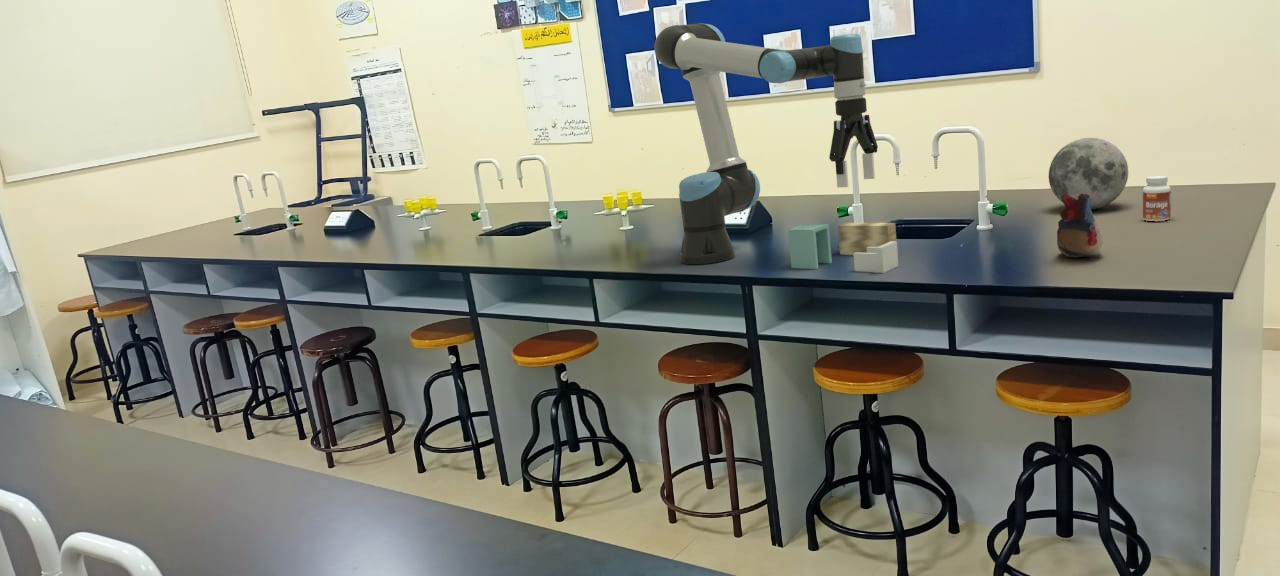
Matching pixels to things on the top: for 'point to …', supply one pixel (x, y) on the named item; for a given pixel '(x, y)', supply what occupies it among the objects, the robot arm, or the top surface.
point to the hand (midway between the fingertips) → (856, 183)
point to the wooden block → (864, 236)
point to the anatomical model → (1078, 228)
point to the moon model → (1089, 171)
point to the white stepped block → (877, 258)
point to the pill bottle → (1156, 198)
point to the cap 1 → (809, 245)
